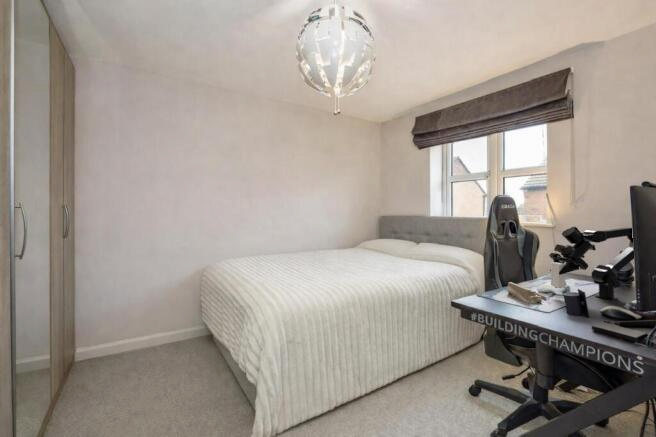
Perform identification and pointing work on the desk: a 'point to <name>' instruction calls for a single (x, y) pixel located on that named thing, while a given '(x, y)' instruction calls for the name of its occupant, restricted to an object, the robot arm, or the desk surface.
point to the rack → (523, 293)
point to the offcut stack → (532, 292)
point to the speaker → (576, 303)
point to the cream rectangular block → (557, 275)
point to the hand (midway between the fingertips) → (555, 272)
